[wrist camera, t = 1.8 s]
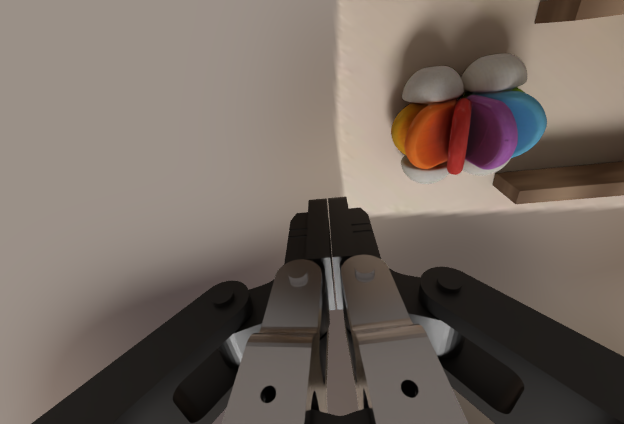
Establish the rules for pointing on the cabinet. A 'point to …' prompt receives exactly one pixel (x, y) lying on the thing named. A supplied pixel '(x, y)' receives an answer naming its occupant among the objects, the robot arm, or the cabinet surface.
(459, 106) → the rainbow disc stack
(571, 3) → the bay
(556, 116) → the cabinet surface
